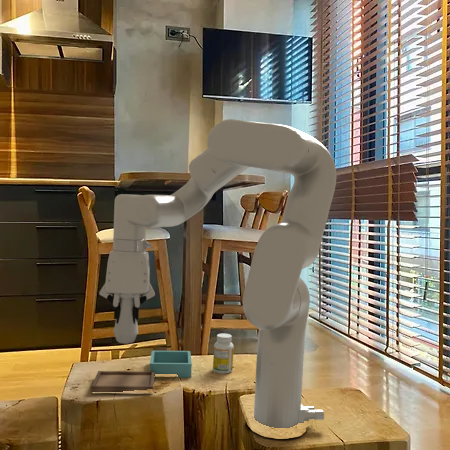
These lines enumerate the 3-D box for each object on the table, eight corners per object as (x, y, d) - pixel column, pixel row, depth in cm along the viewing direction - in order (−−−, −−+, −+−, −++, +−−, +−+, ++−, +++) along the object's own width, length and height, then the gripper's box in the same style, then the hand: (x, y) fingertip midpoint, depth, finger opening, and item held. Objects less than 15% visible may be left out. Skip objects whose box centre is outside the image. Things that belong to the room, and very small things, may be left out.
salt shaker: (135, 345, 114) (137, 290, 113) (110, 344, 114) (112, 289, 113) (139, 338, 120) (142, 286, 119) (116, 336, 120) (118, 284, 119)
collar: (189, 363, 135) (190, 351, 135) (191, 377, 125) (191, 364, 125) (151, 363, 134) (151, 350, 134) (149, 377, 124) (149, 363, 123)
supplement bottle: (222, 375, 127) (223, 339, 127) (208, 369, 131) (210, 334, 131) (236, 371, 131) (238, 336, 130) (223, 365, 135) (224, 331, 134)
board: (154, 378, 123) (154, 371, 123) (152, 394, 113) (152, 386, 113) (98, 377, 122) (98, 370, 122) (91, 394, 112) (91, 386, 112)
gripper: (164, 246, 120) (161, 319, 121) (96, 243, 118) (94, 317, 119) (163, 249, 113) (160, 327, 114) (91, 246, 111) (88, 325, 112)
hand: (126, 321), depth 117 cm, fingers closed on salt shaker, 3 cm apart
